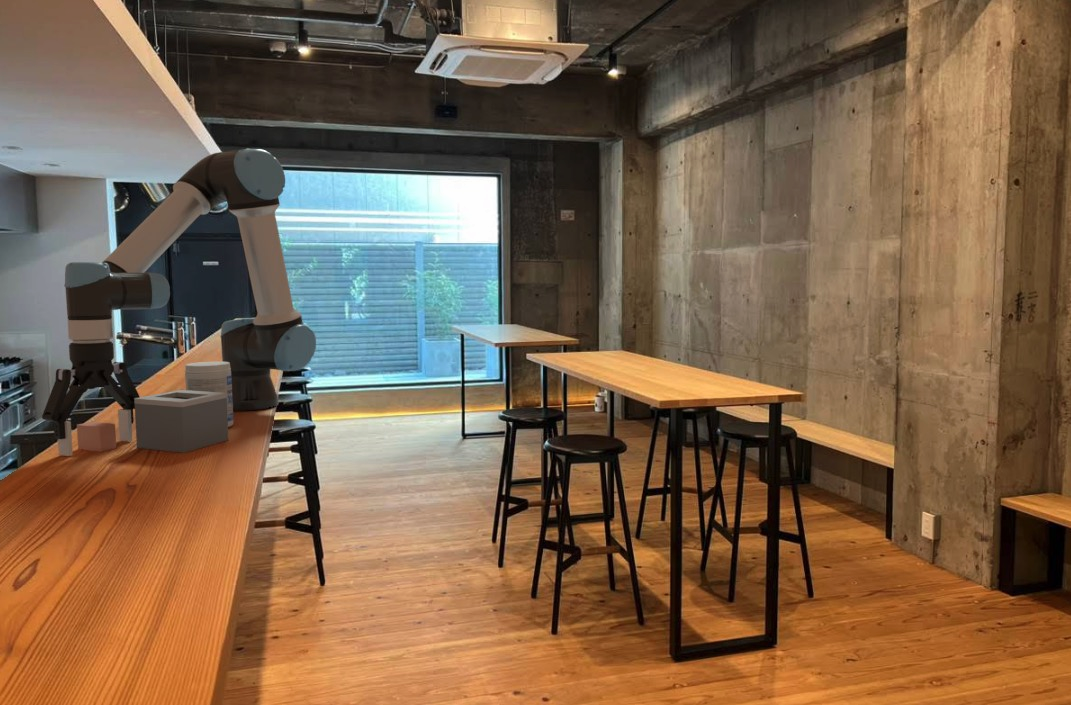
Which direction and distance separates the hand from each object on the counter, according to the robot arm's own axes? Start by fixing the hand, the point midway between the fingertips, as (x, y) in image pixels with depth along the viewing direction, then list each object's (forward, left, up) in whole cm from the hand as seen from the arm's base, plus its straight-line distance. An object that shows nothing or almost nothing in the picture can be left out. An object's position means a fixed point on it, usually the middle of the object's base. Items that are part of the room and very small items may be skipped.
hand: (97, 447), depth 147 cm
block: (0, 0, 0) cm, 0 cm away
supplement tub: (-24, +6, 0) cm, 25 cm away
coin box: (-9, +13, 0) cm, 16 cm away
